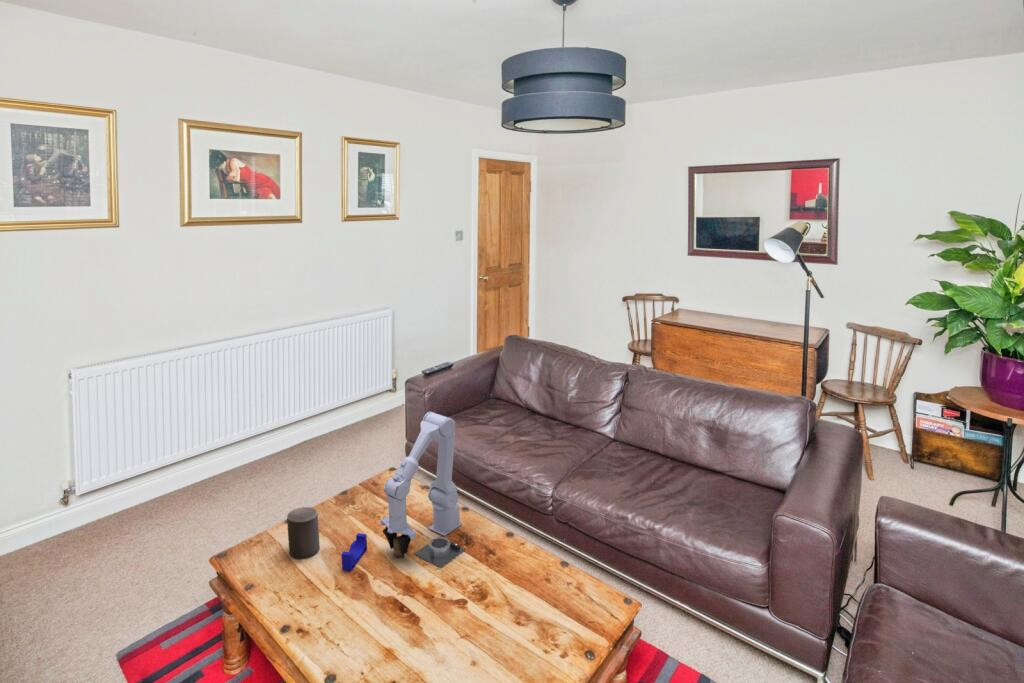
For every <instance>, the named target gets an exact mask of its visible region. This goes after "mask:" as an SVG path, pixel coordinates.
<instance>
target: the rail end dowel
mask: <svg viewBox="0 0 1024 683" xmlns="http://www.w3.org/2000/svg"><path fill="white" fill-rule="evenodd" d="M399 536H400V535H397V537H395V538H394V539H393V545H394V548H393V557H394V558H396V559H402V558H403V557H405V554H404V555H403V554H401V547H400V543H399V541H398V539H397V538H398V537H399Z"/></svg>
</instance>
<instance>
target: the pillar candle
mask: <svg viewBox="0 0 1024 683" xmlns="http://www.w3.org/2000/svg"><path fill="white" fill-rule="evenodd" d="M286 521H287V524H286V525H287V536H288V537H287V538H288V550H289V555H290V557H292V558H294V559H297V560H303V559H308V558H311V557H312V558H313V556H315V555H316V554H318V553H319V551H320V550H321V549H320V548H321V547H320V533H319V532H320V531H319V528H320V527H319V512H318V510H317V509H316V508H315V507H311V506H310V507H308V506H300V507H297V508H294V509H292V510H290V511H289V512H288V513H287V516H286Z"/></svg>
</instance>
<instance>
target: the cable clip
mask: <svg viewBox="0 0 1024 683" xmlns="http://www.w3.org/2000/svg"><path fill="white" fill-rule="evenodd" d="M367 538H368V537H367V534H366V533H360V532H358V533H357V534H356V535H355V540H353V541H352V543H351V544H350V546H349V550H348V551H343V552H341V564H342V568H341V570H342V571H344V572H345V571H347V572H352V571H353V570H354V568H355V567H356V566H357V564H358V563H359V561H360V560H361V559H362V557H363V556H364V554H365V553H366V552H367V551H368V541H367V540H368V539H367Z"/></svg>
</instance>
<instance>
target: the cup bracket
mask: <svg viewBox="0 0 1024 683" xmlns="http://www.w3.org/2000/svg"><path fill="white" fill-rule="evenodd" d="M465 551H466V549H465V548H463V547H461V546H460V544H458V542H452V541H450V539H449V538H447V537H445V536H443V535H440V536H437V537H434V538H432V539H431V540H429V542H428V544H426V545H425V546H423V547H421V548H420V549H418V550H417V551H415V552H414V554H413V555H414V556H415V555H416V557H417V556H418V557H417V558H419V557H420V559H421V558H422V559H421V560H424V561H425V562H428V563H430V564H432V565H434V566H436V567H437V568H439V567H440V568H439V569H442V568H443V566H444V565H445V564H446V565H448V564H449V563H450V562H452V561H453V560H455V559H456V558H457V557H458V556H460V555H461V554H462V553H464V552H465ZM460 553H461V554H460ZM459 554H460V555H459ZM456 556H457V557H456ZM455 557H456V558H455ZM452 559H453V560H452ZM451 560H452V561H451ZM449 561H450V562H449ZM448 562H449V563H448ZM447 563H448V564H447ZM446 565H445V566H446ZM445 566H444V567H445Z"/></svg>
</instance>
